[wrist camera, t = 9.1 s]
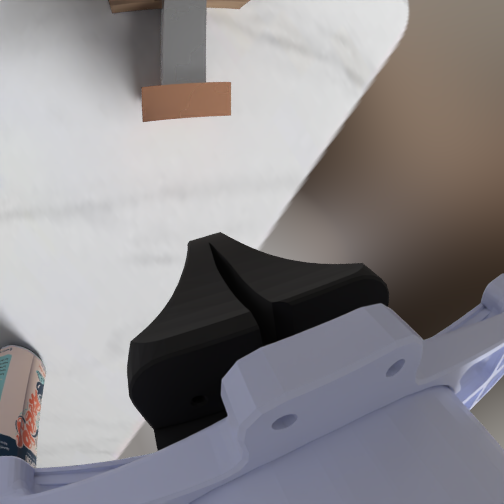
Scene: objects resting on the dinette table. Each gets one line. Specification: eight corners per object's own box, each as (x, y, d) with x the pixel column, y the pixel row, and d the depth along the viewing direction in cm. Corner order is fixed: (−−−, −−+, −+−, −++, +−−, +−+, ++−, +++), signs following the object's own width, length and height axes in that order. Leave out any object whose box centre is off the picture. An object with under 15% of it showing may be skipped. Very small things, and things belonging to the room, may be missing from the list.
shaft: (142, 118, 15) (142, 122, 12) (145, -34, 11) (148, -61, 8) (213, 112, 16) (230, 115, 13) (215, -35, 12) (233, -60, 9)
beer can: (39, 386, 22) (31, 502, 12) (-5, 365, 19) (-28, 479, 9) (52, 356, 21) (41, 486, 11) (4, 332, 19) (-30, 459, 9)
